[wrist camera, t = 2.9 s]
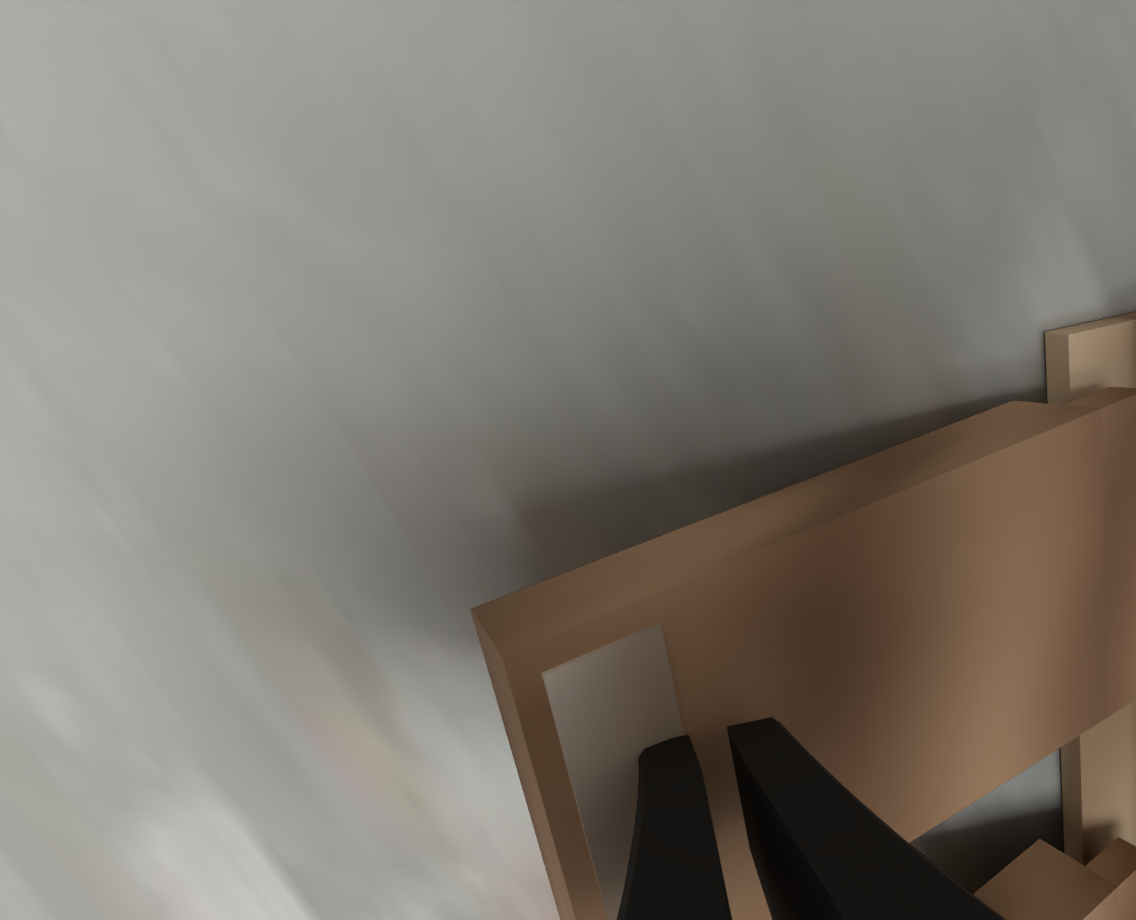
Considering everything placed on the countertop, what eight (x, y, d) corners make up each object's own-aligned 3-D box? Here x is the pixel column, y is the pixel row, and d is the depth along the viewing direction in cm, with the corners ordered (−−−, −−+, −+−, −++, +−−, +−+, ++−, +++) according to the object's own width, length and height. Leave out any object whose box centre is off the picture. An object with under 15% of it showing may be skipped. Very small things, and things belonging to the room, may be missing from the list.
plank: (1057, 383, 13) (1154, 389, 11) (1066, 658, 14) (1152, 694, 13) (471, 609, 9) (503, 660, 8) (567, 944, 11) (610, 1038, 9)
